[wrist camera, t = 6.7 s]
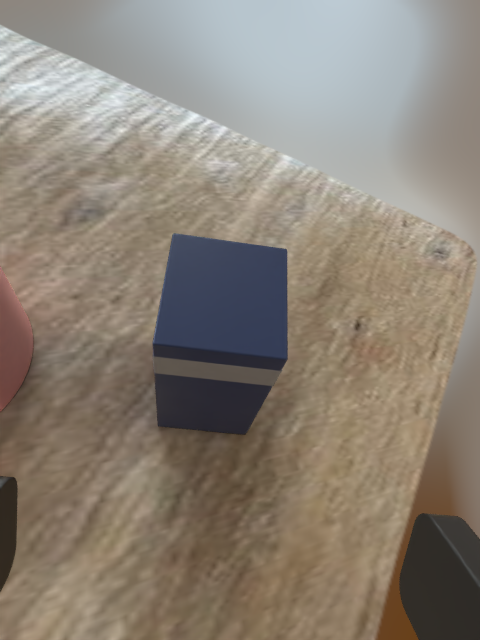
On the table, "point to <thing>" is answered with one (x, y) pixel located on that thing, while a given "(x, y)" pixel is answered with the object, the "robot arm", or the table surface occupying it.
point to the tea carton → (219, 333)
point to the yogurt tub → (13, 342)
